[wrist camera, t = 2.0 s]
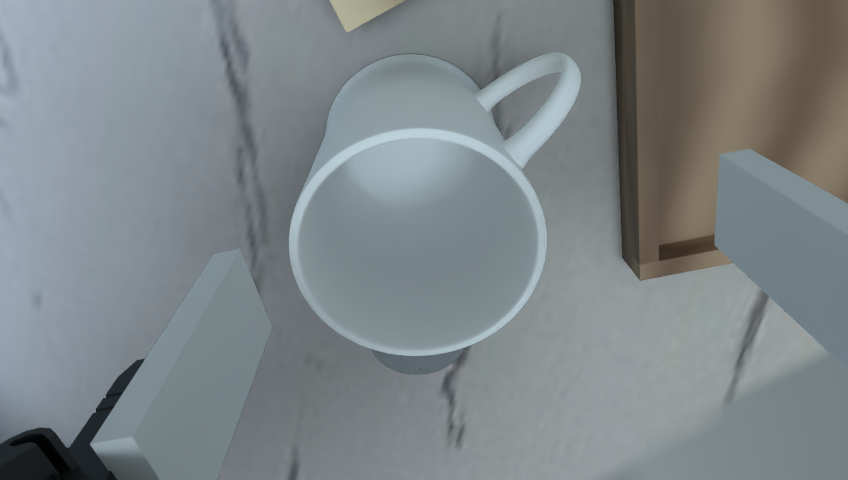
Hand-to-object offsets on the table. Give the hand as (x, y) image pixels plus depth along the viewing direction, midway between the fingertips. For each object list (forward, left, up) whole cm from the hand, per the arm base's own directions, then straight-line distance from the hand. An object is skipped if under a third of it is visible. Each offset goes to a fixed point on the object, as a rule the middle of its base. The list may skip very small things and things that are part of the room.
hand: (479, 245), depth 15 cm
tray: (+17, -2, -14) cm, 22 cm away
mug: (0, 0, -14) cm, 14 cm away
